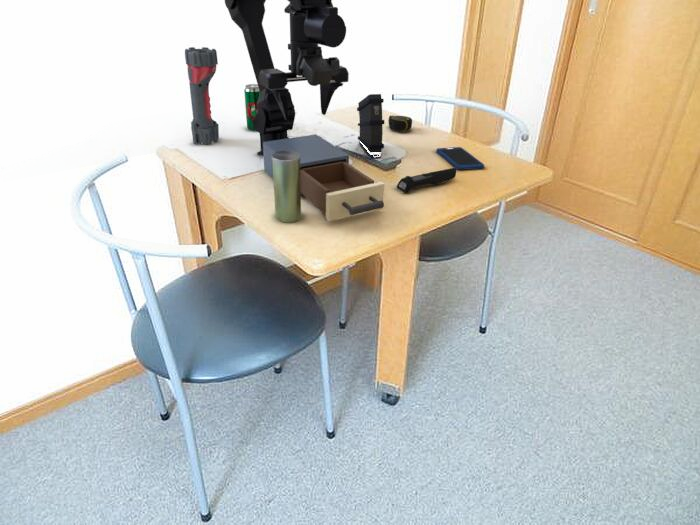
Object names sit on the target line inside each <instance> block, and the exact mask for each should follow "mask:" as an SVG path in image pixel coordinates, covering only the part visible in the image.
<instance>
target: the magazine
mask: <svg viewBox="0 0 700 525" xmlns="http://www.w3.org/2000/svg"><path fill="white" fill-rule="evenodd" d="M384 100H385V99H384V98H382V93H373V94H372V93H371V94H368V95H367V96H365V97H364V98H363V99H361V100H360V101H359V102H358V103H357V104H358V106H357V107H356V112H358V118H359V123H357V127H359V135H358V136H357V140H358V141H359V140H360V141H361V142H362V143H363V144H364V145H365V146H366V147H367V148H368V150H369V151H370V152H382V153H383V149H385V144H384V143H383V125H385V119H383V103H384V102H385V101H384ZM358 144H359V146H360V148H361V149H362V150H363V151H364V152H365V153H366V155H367V156H368V157H369V159H378V158H377V157H376V158H374V157H373V155H370V154H369V153H368V152H367V150H366V149H365V148H364V147H363V145H362V144H361V143H360V142H358ZM374 156H377V155H374ZM378 156H379V155H378Z"/></svg>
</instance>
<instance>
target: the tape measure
mask: <svg viewBox="0 0 700 525" xmlns="http://www.w3.org/2000/svg"><path fill="white" fill-rule="evenodd" d="M387 121H388V126H389V127H388V128H389V129H390V130H393V131H397V132H399V133H404V132H407V131H411V129H412V126H413V119H412V117H410V116H406V115H389V116H388V120H387Z"/></svg>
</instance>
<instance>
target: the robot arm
mask: <svg viewBox="0 0 700 525" xmlns="http://www.w3.org/2000/svg"><path fill="white" fill-rule="evenodd" d="M266 1H267V0H224V5H225V7H226V8H227V10H228V13H229V16H230V18H231V20H232V21H233V23H234V24H235V25H236V26H237V27H238V28H239V29H240V30H241V32H242V35H243V38H244V39H243V40H244V42H245V46H246V48H247V51H248V56H249V60H250V62H251V66H252V69H253V74H254V77H255V80H256V84H258V87H259V91H260V94H259V97H258V101H257V109H258V112H257V114H256V116H255V118H254V119H253V121H252V123H253V127H254V130H255V131H254V132H257V133H259V143H260V151H257V152H256V155H257V156H261V157H264V155H263V142H267V141H274V140H280V139H287V138H290V137H289V136H288V131H290V130H293V129H294V124H295V119H296V109H295V105H294V102H293V100H292V95H291V92H290V91H289V88H287V87H286V86H287V85H288V83H294V82H303V81H304V82H305V81H307V83H308V84H309V85H310V86H312V87H317V86H319V96H320V97H319V98H320V109H321V110H320V111H321V114H322V115H323V116H325V115H326V114H327V112H328V108H329V106H330V103H331V100H332V98H333V96H334V94H335V91H337V89H339V88H340V87H343V85H344V83H348V82H349V81H350V80H349V75H350V73H349V70H348V69H347V67H345V66H342V65H340V59H339V58H338V57H337V56H334V57H333V56H331V57H327V58H324V56H323V50H322V46H324V47H329V48H337V47H339V46H341V44H343V43H344V40H345V39H346V36H347V35H346V34H347V26H346V23H345V21H344V19H343V17H342V16H341V15H339V8H338V7H337V6H334V5H333V0H287V2H289V4H288V5H286V6H285V7H284V11H283V12H284V13H285V14H289V43H288V44H287V49H288V50H289V51H290V64H288V71H289V72H287V71H286V72H285V71H283V70H281V69H279V68H275V66H274V62H273V58H272V55H271V49H270V47H269V44H268V40H267V36H266V33H265V28H264V26H263V22H264V17H265V14H266V6H265V3H266ZM319 45H321V46H319Z"/></svg>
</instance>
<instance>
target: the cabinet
mask: <svg viewBox="0 0 700 525" xmlns="http://www.w3.org/2000/svg"><path fill="white" fill-rule="evenodd" d="M278 151H294V152H297V153H299V154H300V156H301V159H300V169H303V168H308V167H314V166H319V165H325V164H330V163H336V162H341V161H345V162H346V163H348V164H349V165H350V154H348V153H347V152H345V151H344V150H342V149H341V148H339V147H337V146H335V145H334V144H332V143H331V142H329V141H327V140H326V139H324V138H323V137H321V136H320V135H318V134H316V133H314V134H309V135H301V136H295V137H289V138H287V139H280V140H274V141H267V142H263V155H264V156H263V169H264V170H263V171H264V173H265V174H266V175H268V176H269V178H271V179H272V180H273V160H272V154H273V153H275V152H278ZM301 196H304V195H303V194H302V193H301Z"/></svg>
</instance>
